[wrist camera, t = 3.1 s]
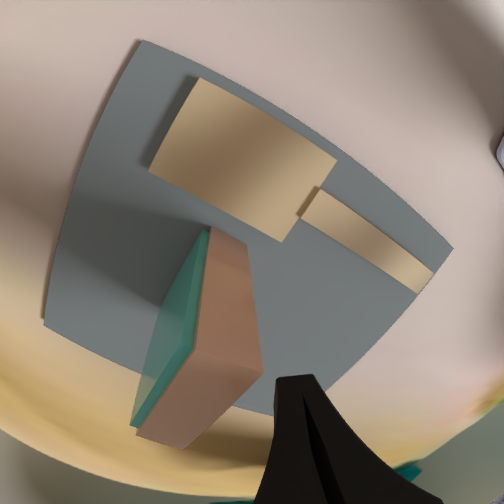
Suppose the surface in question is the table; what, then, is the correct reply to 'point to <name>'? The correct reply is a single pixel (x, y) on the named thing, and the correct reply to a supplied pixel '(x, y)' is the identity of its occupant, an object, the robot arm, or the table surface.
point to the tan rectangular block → (200, 344)
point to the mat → (206, 216)
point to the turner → (268, 177)
